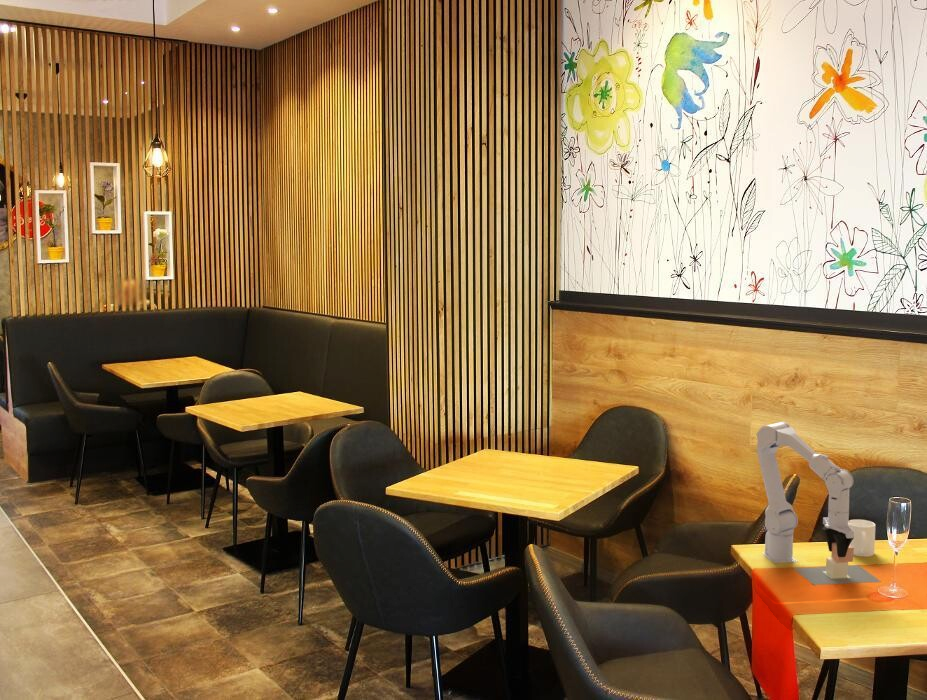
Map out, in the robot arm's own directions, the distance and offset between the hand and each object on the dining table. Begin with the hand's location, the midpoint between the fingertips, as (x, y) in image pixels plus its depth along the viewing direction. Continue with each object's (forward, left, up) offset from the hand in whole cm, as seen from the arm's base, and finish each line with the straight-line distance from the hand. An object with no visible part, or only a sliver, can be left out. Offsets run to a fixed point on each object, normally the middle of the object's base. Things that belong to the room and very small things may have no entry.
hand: (837, 553), depth 282 cm
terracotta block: (0, +2, -2) cm, 2 cm away
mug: (-17, +16, -7) cm, 24 cm away
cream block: (0, 0, -6) cm, 6 cm away
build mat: (0, 0, -7) cm, 7 cm away
